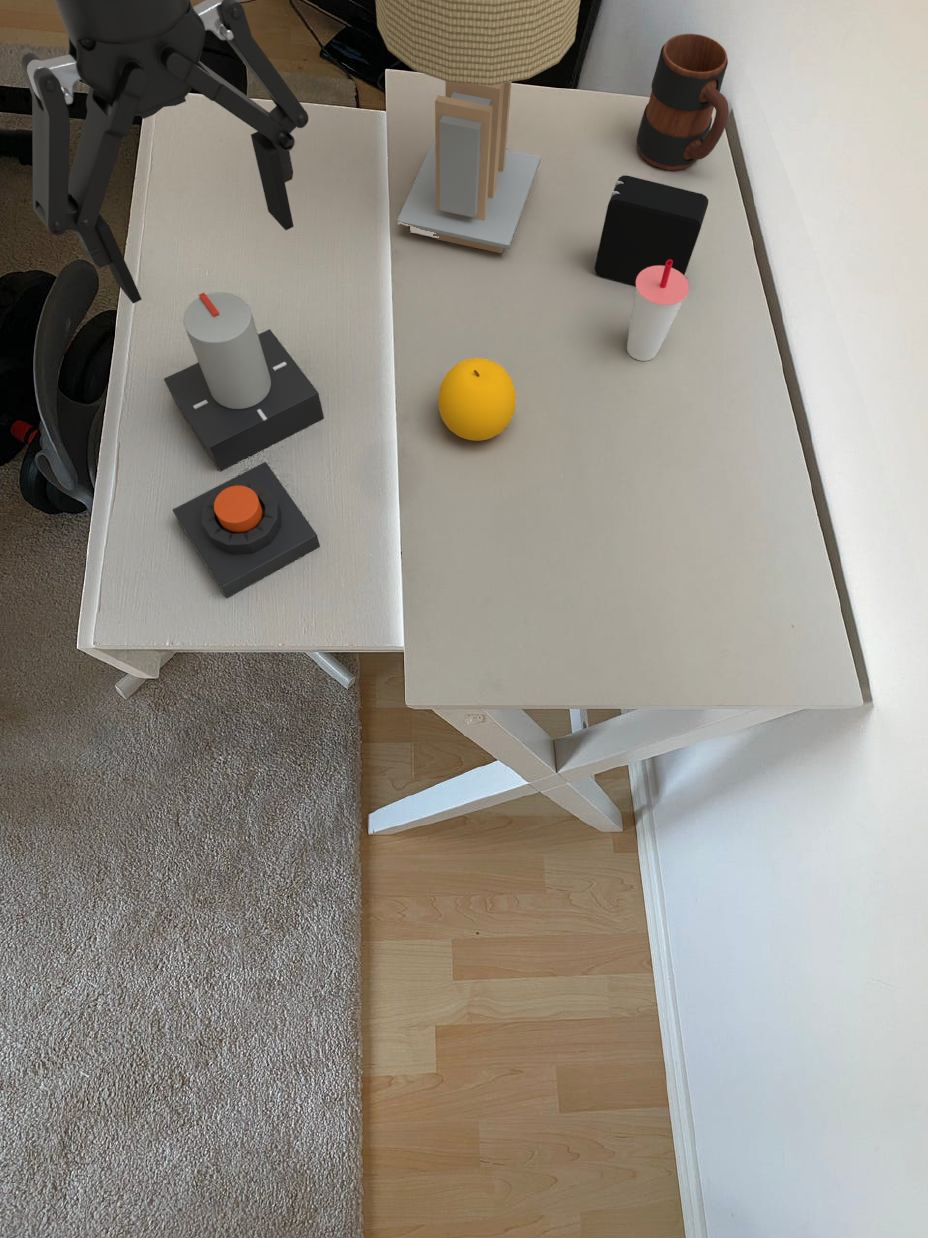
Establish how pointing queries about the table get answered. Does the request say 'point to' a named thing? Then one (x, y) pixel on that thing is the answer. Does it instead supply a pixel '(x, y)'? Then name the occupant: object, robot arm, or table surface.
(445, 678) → the table surface
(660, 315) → the cup
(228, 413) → the dial panel
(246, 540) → the button base
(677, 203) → the electronic device
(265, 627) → the table surface
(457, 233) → the desk lamp
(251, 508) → the power button
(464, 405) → the yellow orange fruit
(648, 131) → the mug
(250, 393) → the timer dial
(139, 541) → the table surface
